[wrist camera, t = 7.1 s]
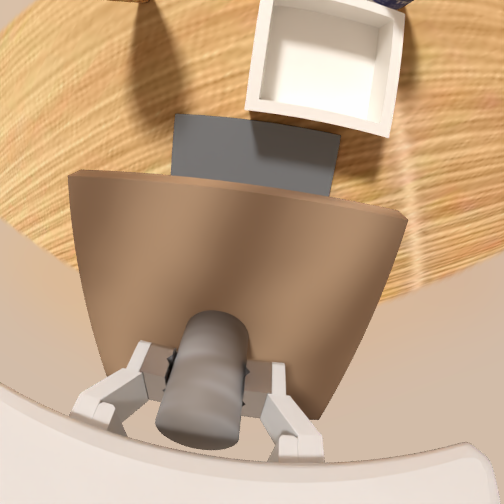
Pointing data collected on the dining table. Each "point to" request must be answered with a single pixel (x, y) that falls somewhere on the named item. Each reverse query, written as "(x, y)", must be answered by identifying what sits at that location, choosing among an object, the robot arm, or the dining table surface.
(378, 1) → the pill bottle
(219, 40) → the dining table surface
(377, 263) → the lid
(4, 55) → the dining table surface
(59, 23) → the dining table surface
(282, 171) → the mat
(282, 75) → the dish
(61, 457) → the robot arm
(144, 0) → the ice cream cone
